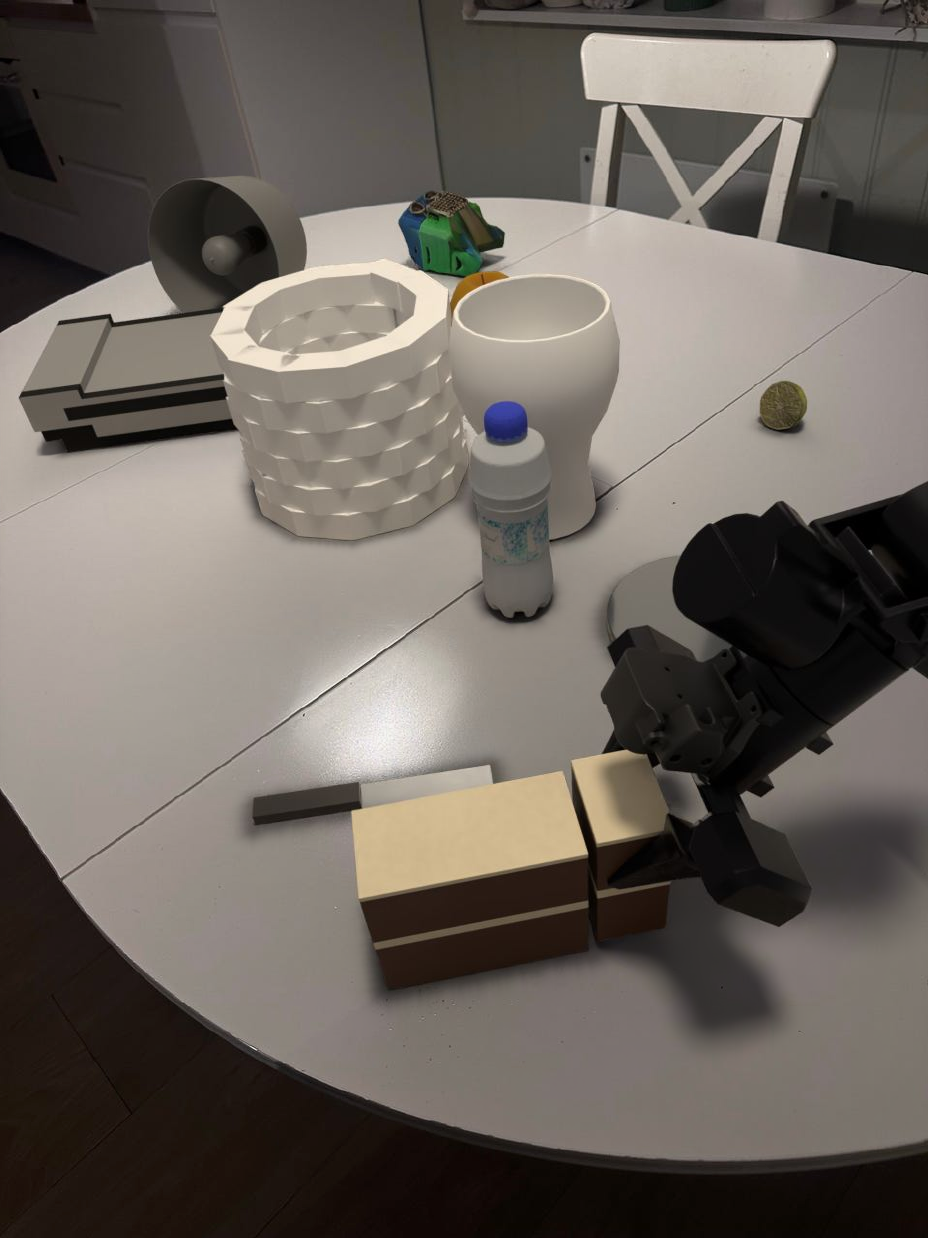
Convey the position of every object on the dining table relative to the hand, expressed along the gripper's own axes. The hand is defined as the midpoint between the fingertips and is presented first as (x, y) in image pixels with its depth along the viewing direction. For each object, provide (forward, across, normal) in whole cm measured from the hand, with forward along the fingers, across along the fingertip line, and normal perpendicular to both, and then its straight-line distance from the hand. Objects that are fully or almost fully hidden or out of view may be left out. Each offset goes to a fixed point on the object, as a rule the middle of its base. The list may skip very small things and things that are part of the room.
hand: (597, 840), depth 56 cm
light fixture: (+22, -112, -11) cm, 115 cm away
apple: (0, -77, +11) cm, 78 cm away
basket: (+13, -57, -2) cm, 58 cm away
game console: (+28, -81, -17) cm, 87 cm away
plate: (-6, -24, +16) cm, 30 cm away
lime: (-19, -52, +30) cm, 63 cm away
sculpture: (0, -110, +11) cm, 110 cm away
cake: (+11, 0, 0) cm, 11 cm away
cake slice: (+4, 0, +6) cm, 7 cm away
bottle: (+5, -31, +6) cm, 32 cm away
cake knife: (+15, -12, -5) cm, 20 cm away
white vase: (+1, -44, +10) cm, 46 cm away
